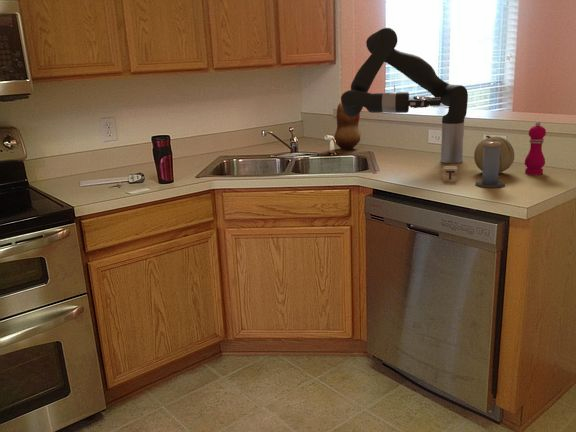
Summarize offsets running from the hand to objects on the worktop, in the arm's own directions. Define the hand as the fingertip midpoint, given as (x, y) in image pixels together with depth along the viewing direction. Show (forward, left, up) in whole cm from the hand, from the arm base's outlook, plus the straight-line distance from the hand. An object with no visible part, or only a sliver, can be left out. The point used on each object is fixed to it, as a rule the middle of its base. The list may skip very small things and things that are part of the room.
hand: (441, 101), depth 192 cm
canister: (+2, +18, -29) cm, 35 cm away
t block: (-5, +4, -30) cm, 31 cm away
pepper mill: (-19, +35, -30) cm, 50 cm away
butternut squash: (-74, -49, -30) cm, 94 cm away
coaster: (+2, +18, -30) cm, 35 cm away
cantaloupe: (-18, +20, -30) cm, 40 cm away
